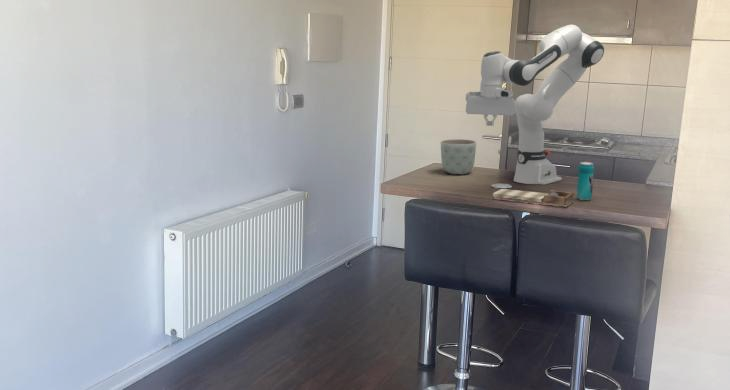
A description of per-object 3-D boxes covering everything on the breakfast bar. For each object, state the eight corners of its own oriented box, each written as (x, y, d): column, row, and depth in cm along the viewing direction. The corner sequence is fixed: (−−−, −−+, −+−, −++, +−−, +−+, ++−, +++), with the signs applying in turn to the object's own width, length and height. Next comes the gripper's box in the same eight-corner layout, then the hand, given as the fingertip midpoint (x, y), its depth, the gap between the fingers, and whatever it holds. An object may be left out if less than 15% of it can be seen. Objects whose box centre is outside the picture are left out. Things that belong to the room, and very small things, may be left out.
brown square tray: (541, 204, 283) (541, 195, 282) (548, 199, 291) (548, 190, 290) (566, 207, 278) (567, 197, 277) (573, 202, 286) (573, 192, 285)
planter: (466, 177, 334) (466, 145, 331) (433, 174, 343) (434, 142, 340) (481, 171, 348) (482, 140, 345) (449, 168, 357) (450, 138, 354)
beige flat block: (492, 199, 292) (493, 193, 292) (501, 194, 301) (501, 188, 300) (541, 204, 283) (541, 198, 282) (548, 199, 291) (548, 193, 290)
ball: (552, 199, 289) (555, 190, 288) (559, 204, 286) (561, 195, 285) (545, 199, 288) (547, 190, 286) (551, 204, 284) (554, 195, 283)
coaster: (499, 183, 321) (499, 182, 321) (515, 187, 314) (515, 185, 314) (486, 186, 315) (486, 185, 315) (503, 190, 308) (503, 188, 308)
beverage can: (589, 201, 287) (591, 164, 284) (575, 200, 290) (577, 163, 287) (593, 198, 292) (595, 162, 288) (579, 197, 295) (581, 161, 291)
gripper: (464, 92, 294) (463, 125, 297) (515, 93, 288) (513, 127, 291) (467, 90, 300) (466, 123, 303) (516, 91, 294) (515, 125, 297)
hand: (489, 125), depth 297 cm, fingers closed
